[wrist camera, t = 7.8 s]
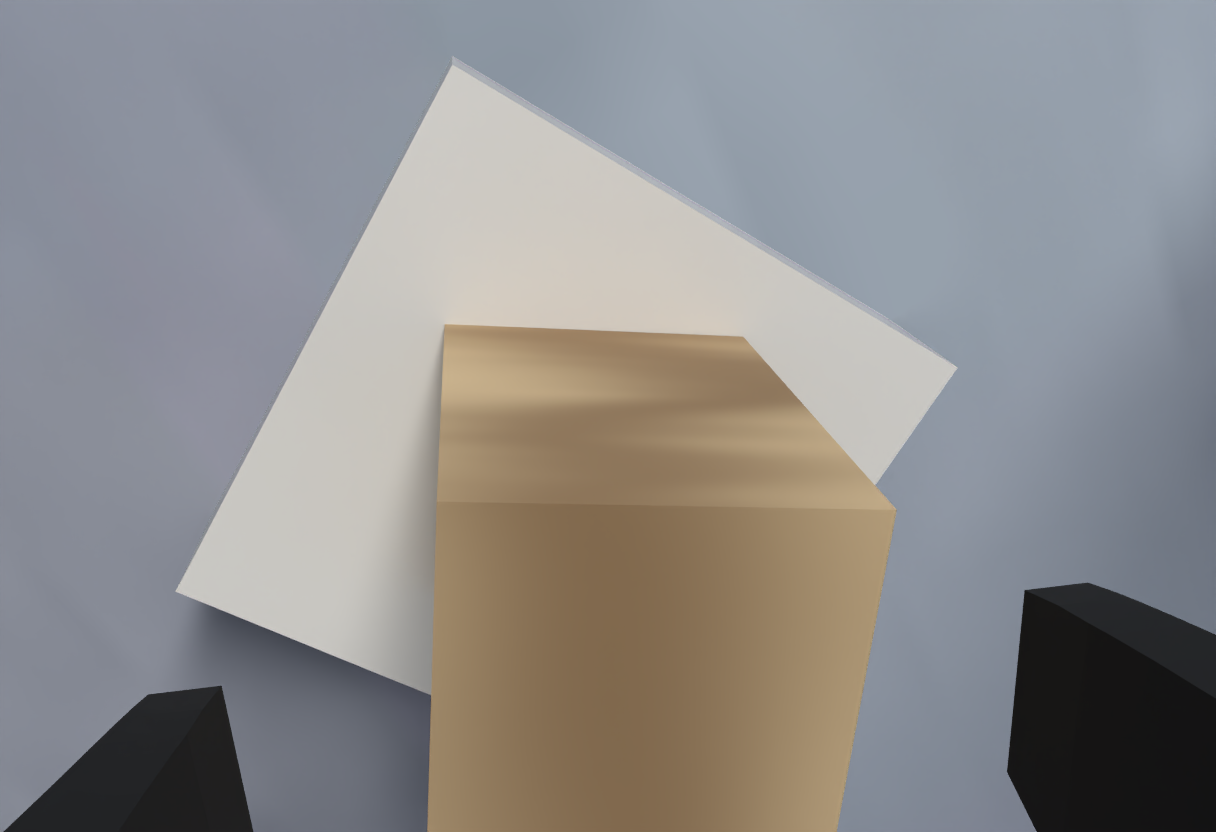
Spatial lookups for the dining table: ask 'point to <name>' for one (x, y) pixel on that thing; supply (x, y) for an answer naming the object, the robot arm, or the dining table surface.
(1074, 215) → the dining table surface
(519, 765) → the oak block
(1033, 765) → the robot arm
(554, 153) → the tile block
